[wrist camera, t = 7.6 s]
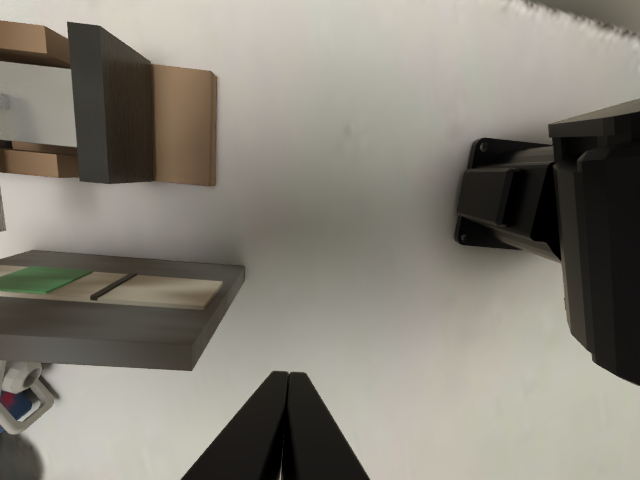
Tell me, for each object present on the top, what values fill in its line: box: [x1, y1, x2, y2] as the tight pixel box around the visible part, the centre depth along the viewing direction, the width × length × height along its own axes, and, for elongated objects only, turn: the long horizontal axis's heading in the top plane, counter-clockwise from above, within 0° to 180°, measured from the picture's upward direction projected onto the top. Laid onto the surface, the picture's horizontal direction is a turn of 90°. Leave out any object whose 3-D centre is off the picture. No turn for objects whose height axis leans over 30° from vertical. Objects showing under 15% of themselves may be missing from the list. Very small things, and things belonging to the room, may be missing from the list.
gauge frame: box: [0, 21, 245, 371], centre depth 13 cm, size 15×12×9 cm
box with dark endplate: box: [0, 22, 154, 232], centre depth 13 cm, size 6×8×6 cm
